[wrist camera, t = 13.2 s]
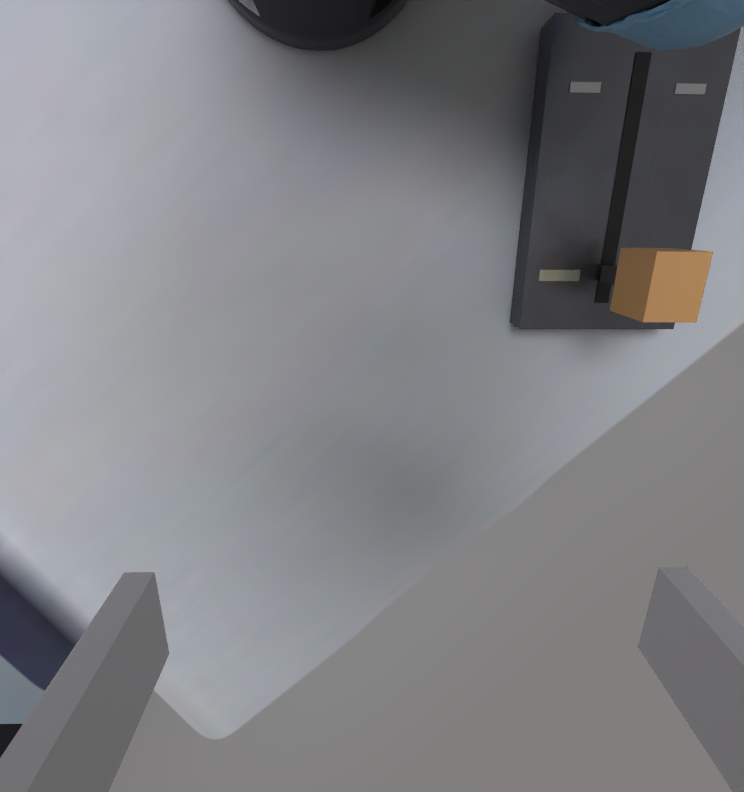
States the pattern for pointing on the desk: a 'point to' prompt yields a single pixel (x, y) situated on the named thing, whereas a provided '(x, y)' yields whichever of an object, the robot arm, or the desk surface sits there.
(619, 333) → the desk surface
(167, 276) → the desk surface
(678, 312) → the dimmer fader
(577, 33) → the panel
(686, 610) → the robot arm
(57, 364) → the desk surface
